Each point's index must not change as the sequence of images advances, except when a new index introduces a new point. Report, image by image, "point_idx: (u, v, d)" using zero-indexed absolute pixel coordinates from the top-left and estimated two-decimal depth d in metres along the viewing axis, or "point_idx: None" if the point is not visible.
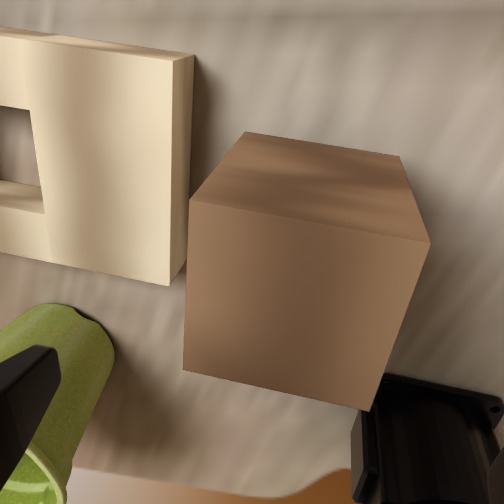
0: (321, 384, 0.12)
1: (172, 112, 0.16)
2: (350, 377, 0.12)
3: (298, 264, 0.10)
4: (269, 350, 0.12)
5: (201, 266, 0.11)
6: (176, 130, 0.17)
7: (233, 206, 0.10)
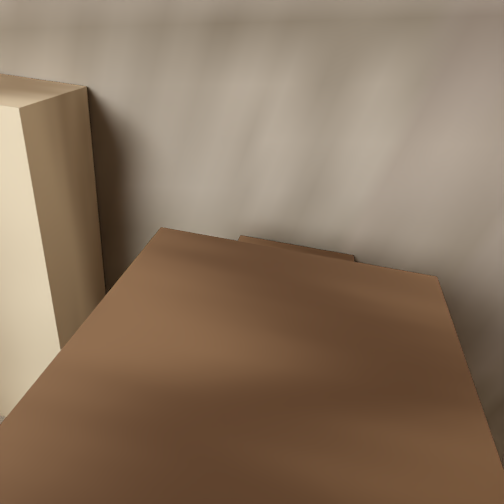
0: None
1: (37, 192, 0.09)
2: None
3: None
4: None
5: None
6: (53, 216, 0.10)
7: None
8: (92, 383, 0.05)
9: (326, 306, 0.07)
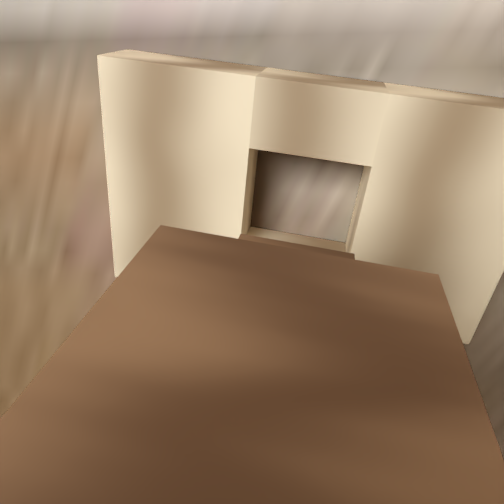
0: None
1: None
2: None
3: None
4: None
5: None
6: None
7: None
8: (90, 381, 0.05)
9: (327, 304, 0.07)
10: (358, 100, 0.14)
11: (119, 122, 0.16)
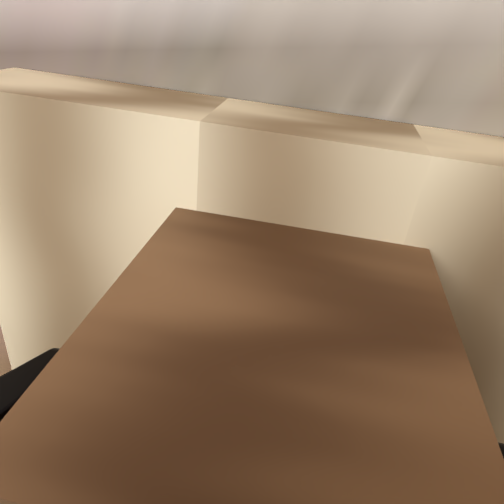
0: None
1: None
2: None
3: None
4: None
5: None
6: None
7: (55, 501, 0.04)
8: (125, 330, 0.06)
9: (328, 272, 0.08)
10: (376, 165, 0.08)
11: None
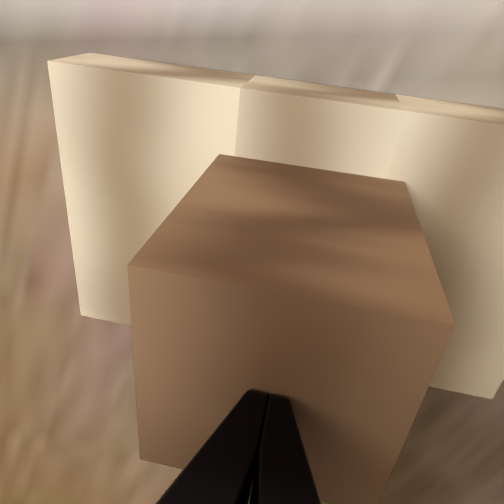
0: None
1: None
2: (349, 476, 0.09)
3: (275, 345, 0.08)
4: None
5: (151, 345, 0.08)
6: None
7: (186, 272, 0.07)
8: (202, 212, 0.09)
9: (332, 191, 0.11)
10: (366, 118, 0.12)
11: (78, 141, 0.14)
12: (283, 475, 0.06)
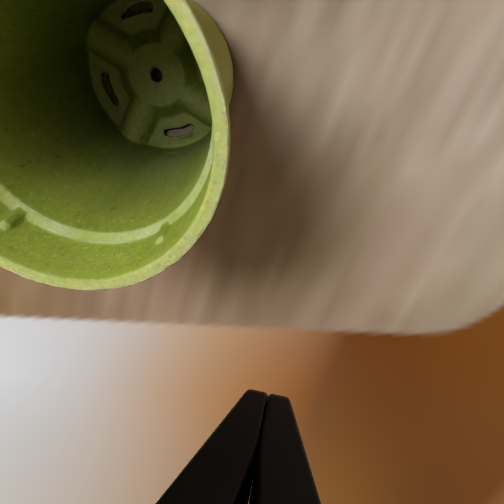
0: None
1: None
2: None
3: None
4: None
5: None
6: None
7: None
8: None
9: None
10: None
11: None
12: (283, 475, 0.06)
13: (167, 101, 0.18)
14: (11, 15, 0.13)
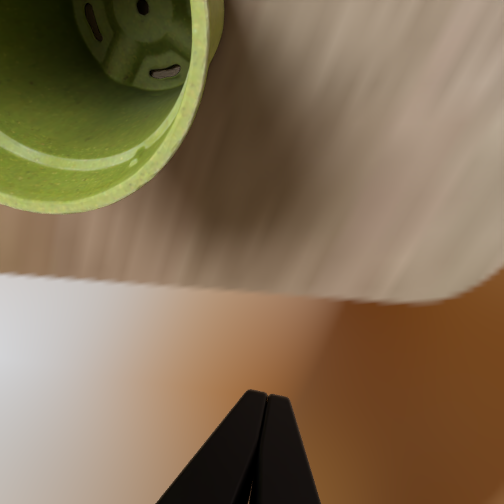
0: None
1: None
2: None
3: None
4: None
5: None
6: None
7: None
8: None
9: None
10: None
11: None
12: (283, 475, 0.06)
13: (153, 36, 0.17)
14: None
